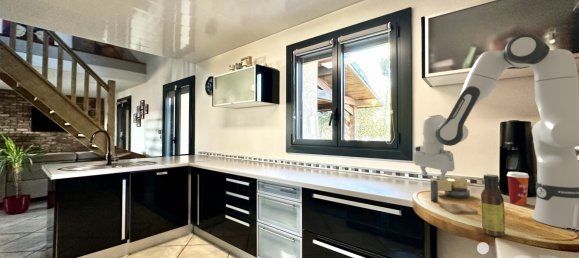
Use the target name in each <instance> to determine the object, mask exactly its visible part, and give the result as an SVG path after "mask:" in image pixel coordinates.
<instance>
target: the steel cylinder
mask: <svg viewBox="0 0 579 258" xmlns="http://www.w3.org/2000/svg"><path fill="white" fill-rule="evenodd" d="M430 201H431V202H432V201H433V203H438V202H439V191H438V181H437V180H431V185H430Z"/></svg>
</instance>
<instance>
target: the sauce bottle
mask: <svg viewBox="0 0 579 258" xmlns="http://www.w3.org/2000/svg"><path fill="white" fill-rule="evenodd" d="M483 180H484V186H483V187H484V188H483V190H482V191H481V193H480V211H481V212H480V216H481V230H482V232H483V233H484V234H486V235H488V236H491V237H492V236H493V237H504V236H505V233H506V221H505V220H506V216H505V199H504V197H503V195H502V192H501V190H500V187H499V180H500V177H499V175H496V174H489V173H488V174H483Z"/></svg>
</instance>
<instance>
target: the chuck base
mask: <svg viewBox="0 0 579 258" xmlns="http://www.w3.org/2000/svg"><path fill="white" fill-rule="evenodd" d="M443 193H444V196H446V197H450V198H455V199H469V198H470V197H471V191H470V189H468V188H467V191H453V190H452V191H443Z"/></svg>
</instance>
